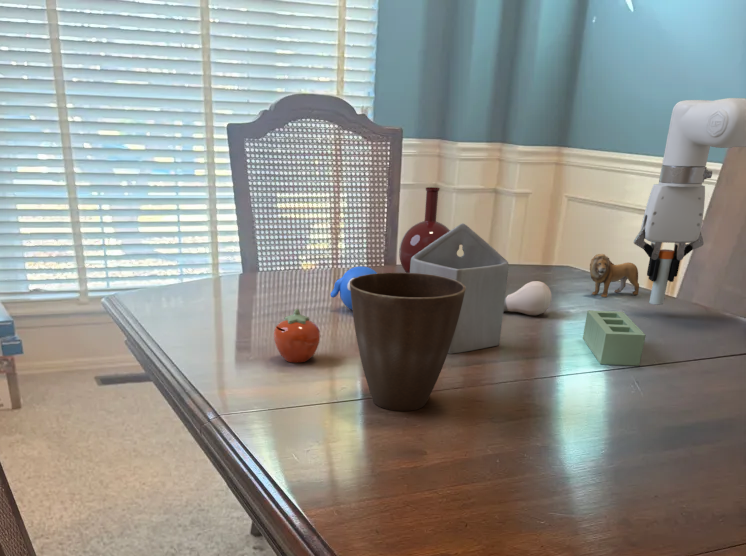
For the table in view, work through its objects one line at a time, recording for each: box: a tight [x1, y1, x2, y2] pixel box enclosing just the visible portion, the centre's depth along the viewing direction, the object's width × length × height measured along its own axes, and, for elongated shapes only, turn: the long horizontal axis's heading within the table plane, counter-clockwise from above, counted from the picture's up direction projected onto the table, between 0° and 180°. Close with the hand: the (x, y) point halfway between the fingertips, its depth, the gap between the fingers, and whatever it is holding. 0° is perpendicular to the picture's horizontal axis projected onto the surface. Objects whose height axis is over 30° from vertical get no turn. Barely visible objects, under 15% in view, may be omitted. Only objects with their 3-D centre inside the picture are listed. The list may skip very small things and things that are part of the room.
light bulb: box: [503, 280, 553, 316], centre depth 153 cm, size 7×7×11 cm
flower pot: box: [350, 272, 466, 412], centre depth 103 cm, size 15×15×16 cm
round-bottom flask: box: [398, 186, 451, 273], centre depth 174 cm, size 13×13×20 cm
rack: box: [582, 309, 647, 367], centre depth 130 cm, size 16×6×5 cm, turn 175°
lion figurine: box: [589, 253, 640, 298], centre depth 169 cm, size 15×5×9 cm, turn 117°
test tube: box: [649, 248, 674, 306], centre depth 151 cm, size 3×3×10 cm
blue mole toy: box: [330, 265, 378, 311], centre depth 150 cm, size 12×12×8 cm
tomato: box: [273, 308, 321, 364], centre depth 122 cm, size 7×7×8 cm
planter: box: [410, 223, 510, 355], centre depth 127 cm, size 16×8×19 cm, turn 80°
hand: (660, 279), depth 151 cm, fingers closed on test tube, 2 cm apart
